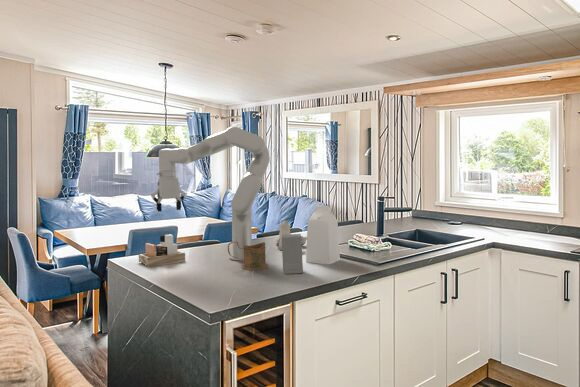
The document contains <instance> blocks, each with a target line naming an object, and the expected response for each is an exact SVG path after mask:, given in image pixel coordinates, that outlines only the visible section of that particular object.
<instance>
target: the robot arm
mask: <svg viewBox="0 0 580 387" xmlns="http://www.w3.org/2000/svg"><path fill="white" fill-rule="evenodd" d="M234 147H237V148H239V149H242V150H244V151H247V152H249V153H250V154H251V161H250V163H249V165H248V167H247V170H246V172H245V174H244V176H243V177H242V178H241V180H240V182H239V184H238V187H237V189H236V190H235V193H234V195H233V196H232V199H231V202H230V207H231V234H232V235H231V239H232V240H231V242H234V241H238V245H239V247H240V248H244V247H243V246H251V245H253V237H252V236H253V235H252V232H253V231H252V230H253V229H252V226H253V224H252V220H253V219H252V207H253V204H254V203H255V200H256V198H257V196H258V195H259V192H260V190H261V186H262V180H263V179H264V176H265V174H266V172H267V170H268V167H269V163H270V153H269V149H268V147H267V144H266V142H265V140H264V138H263V137H261V136H259V135H258V134H255V133H252V132H250V131H247V130H245V129H242V128H241V127H238V126H230V127H228V128H226V130H223V131H221V132H218V133H214V134H213V135H210V136H208V137H205V138H204V139H203V140H201V141H200V142H198V143H196V144H194V145H192V146H189V147H186V148H184V147H179V148H162V149H159V151H158V170H159V171H158V172H157V173H156V176H157V177H158V179H157V186H156V187H157V188H156V189H157V190H155V191H153V192H151V193H150V197H151V199H152V200H153V201H154V202H155V203H156V210H157V212H162V208H163V207H162V203H161V202H162V200H168V199H171V200H172V199H174V200H176V202H175V205H176V208H175V209H176V210H177V211H181V208H182V202H183V199H184V198H185V196H186V193H187V192H186V191H184V190H181V188H180V183H179V178H178V177H177V171H176V169H177V168H176V164H179V165H180V164H182V165H188V164H191V163H194V162H197V161H199V160H202V159H204V158H207V157H209V156H212V155H215V154H217V153H220V152H222V151H225V150H228V149H230V148H234ZM156 196H157V197H156ZM231 244H232V247H231V248H232V254H231V256H234V257H237V258H238V259H239V260H241V261H244V249H240V248H238V246H237V242H235V243H231ZM231 256H230V255H229V257H228V258H229V259H230V260H232V261H239V260H238V259H237V258H234V257H231Z"/></svg>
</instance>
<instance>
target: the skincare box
mask: <svg viewBox="0 0 580 387" xmlns="http://www.w3.org/2000/svg"><path fill="white" fill-rule="evenodd" d="M301 236H302V234H301V233H292V234H291V233H290V234H289V235H282V250H281V253H282V254H281V256H282V272H283V275H293V274H303V273H304V266H303V247H302V241H301V238H302V237H301Z"/></svg>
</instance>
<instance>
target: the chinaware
mask: <svg viewBox="0 0 580 387" xmlns="http://www.w3.org/2000/svg"><path fill="white" fill-rule="evenodd" d="M278 225H279V235H278V237H277V239H276V241H275V243H274V244H275V246H276V248H277V250H278V249H279V250H280V251H282V235H289V234H291V224H290V223H289V222H287V220H286V219H284V220H283V221H281V223H279V224H278ZM301 237H302V238H301V241H302V246H304V245H305V244H307V236H302V235H301Z"/></svg>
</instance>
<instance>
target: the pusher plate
mask: <svg viewBox="0 0 580 387" xmlns="http://www.w3.org/2000/svg"><path fill="white" fill-rule="evenodd" d="M144 246H145V254H146V256H147V257H156V244H153V243H149V242H145V245H144Z"/></svg>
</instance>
